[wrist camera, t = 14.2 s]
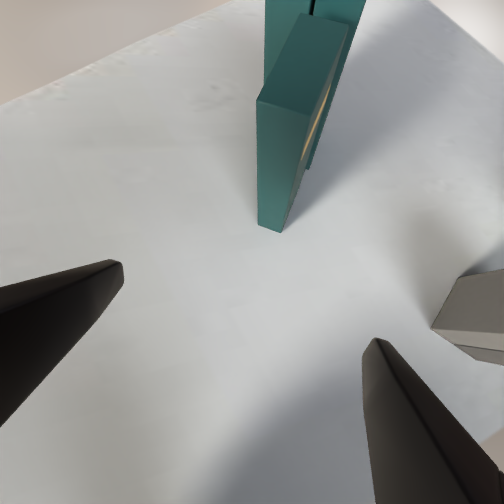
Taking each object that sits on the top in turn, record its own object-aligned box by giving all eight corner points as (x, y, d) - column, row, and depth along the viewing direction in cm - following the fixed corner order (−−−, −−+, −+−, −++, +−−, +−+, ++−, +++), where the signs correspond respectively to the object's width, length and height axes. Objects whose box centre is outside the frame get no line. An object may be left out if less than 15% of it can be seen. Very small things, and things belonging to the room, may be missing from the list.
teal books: (309, 170, 25) (367, -4, 11) (262, 159, 25) (265, -21, 12) (320, 127, 26) (386, -75, 13) (275, 117, 27) (293, -87, 13)
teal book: (281, 233, 23) (311, 117, 10) (257, 224, 23) (254, 100, 10) (299, 185, 24) (350, 24, 11) (277, 178, 25) (299, 10, 11)
